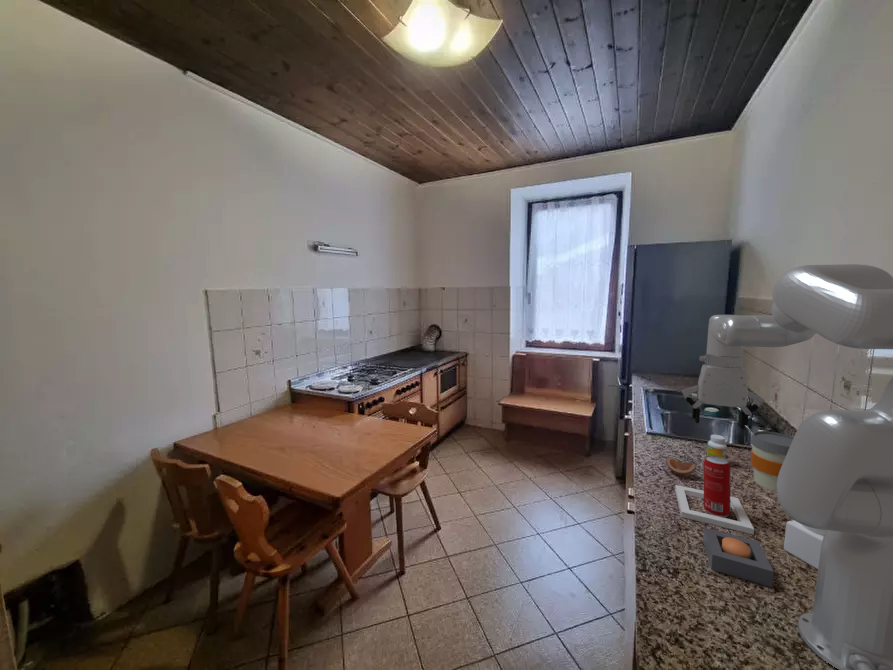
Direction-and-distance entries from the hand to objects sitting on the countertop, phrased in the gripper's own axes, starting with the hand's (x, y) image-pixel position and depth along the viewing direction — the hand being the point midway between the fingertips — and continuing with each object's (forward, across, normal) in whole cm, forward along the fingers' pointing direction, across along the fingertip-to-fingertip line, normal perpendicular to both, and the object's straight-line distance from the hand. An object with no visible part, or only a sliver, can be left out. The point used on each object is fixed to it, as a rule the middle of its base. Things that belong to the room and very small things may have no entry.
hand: (718, 424), depth 93 cm
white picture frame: (+24, 0, 0) cm, 25 cm away
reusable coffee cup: (+25, +20, +25) cm, 41 cm away
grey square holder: (+25, +1, -21) cm, 32 cm away
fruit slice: (+25, -5, +19) cm, 32 cm away
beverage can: (+25, +1, 0) cm, 25 cm away
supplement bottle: (+24, +7, +34) cm, 43 cm away
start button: (+23, +1, -21) cm, 31 cm away
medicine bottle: (+25, +17, -11) cm, 32 cm away
